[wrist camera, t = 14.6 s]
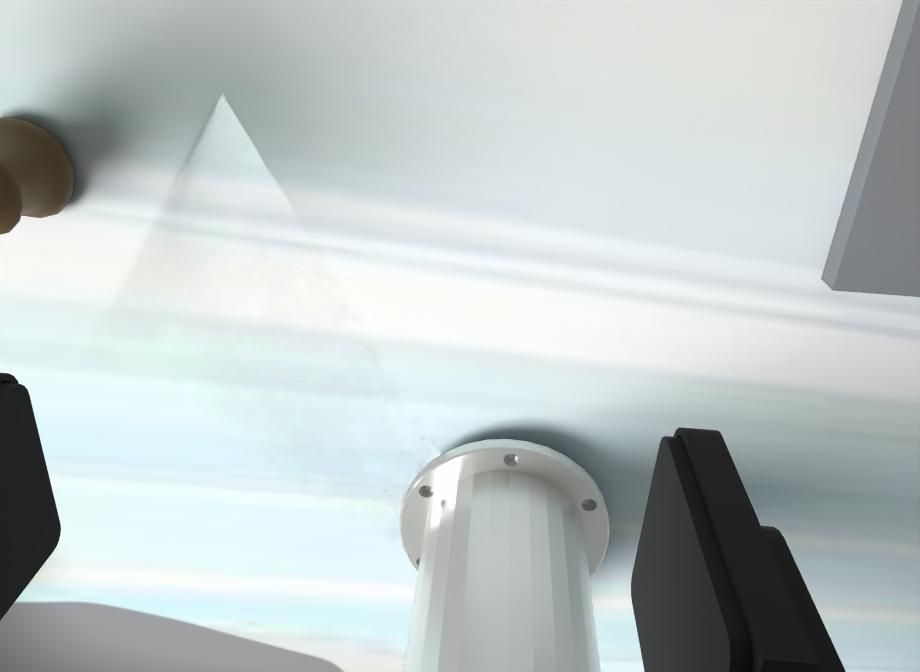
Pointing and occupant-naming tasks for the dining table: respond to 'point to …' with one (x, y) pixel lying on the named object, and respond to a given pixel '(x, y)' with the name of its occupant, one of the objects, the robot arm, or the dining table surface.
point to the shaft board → (885, 181)
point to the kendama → (31, 173)
